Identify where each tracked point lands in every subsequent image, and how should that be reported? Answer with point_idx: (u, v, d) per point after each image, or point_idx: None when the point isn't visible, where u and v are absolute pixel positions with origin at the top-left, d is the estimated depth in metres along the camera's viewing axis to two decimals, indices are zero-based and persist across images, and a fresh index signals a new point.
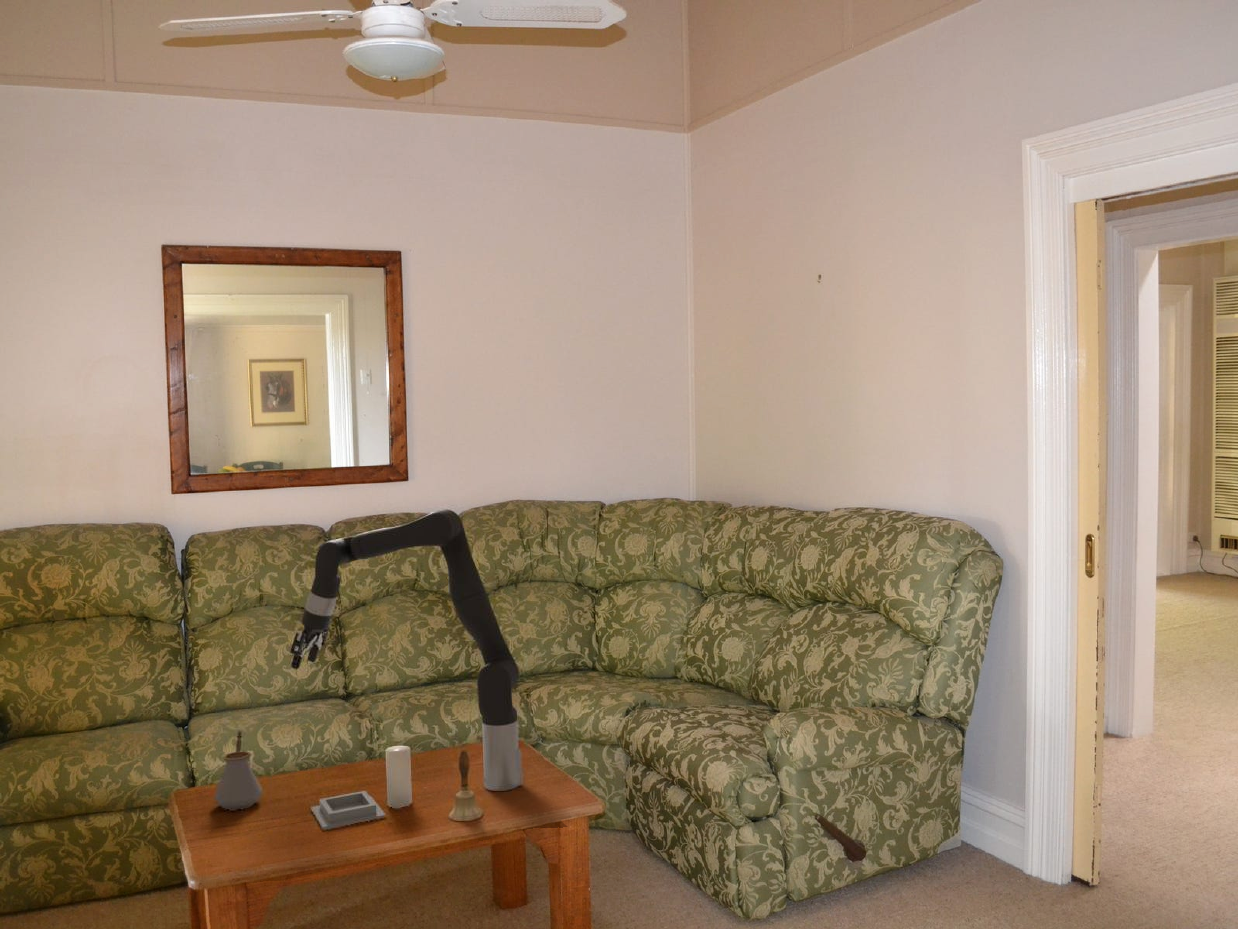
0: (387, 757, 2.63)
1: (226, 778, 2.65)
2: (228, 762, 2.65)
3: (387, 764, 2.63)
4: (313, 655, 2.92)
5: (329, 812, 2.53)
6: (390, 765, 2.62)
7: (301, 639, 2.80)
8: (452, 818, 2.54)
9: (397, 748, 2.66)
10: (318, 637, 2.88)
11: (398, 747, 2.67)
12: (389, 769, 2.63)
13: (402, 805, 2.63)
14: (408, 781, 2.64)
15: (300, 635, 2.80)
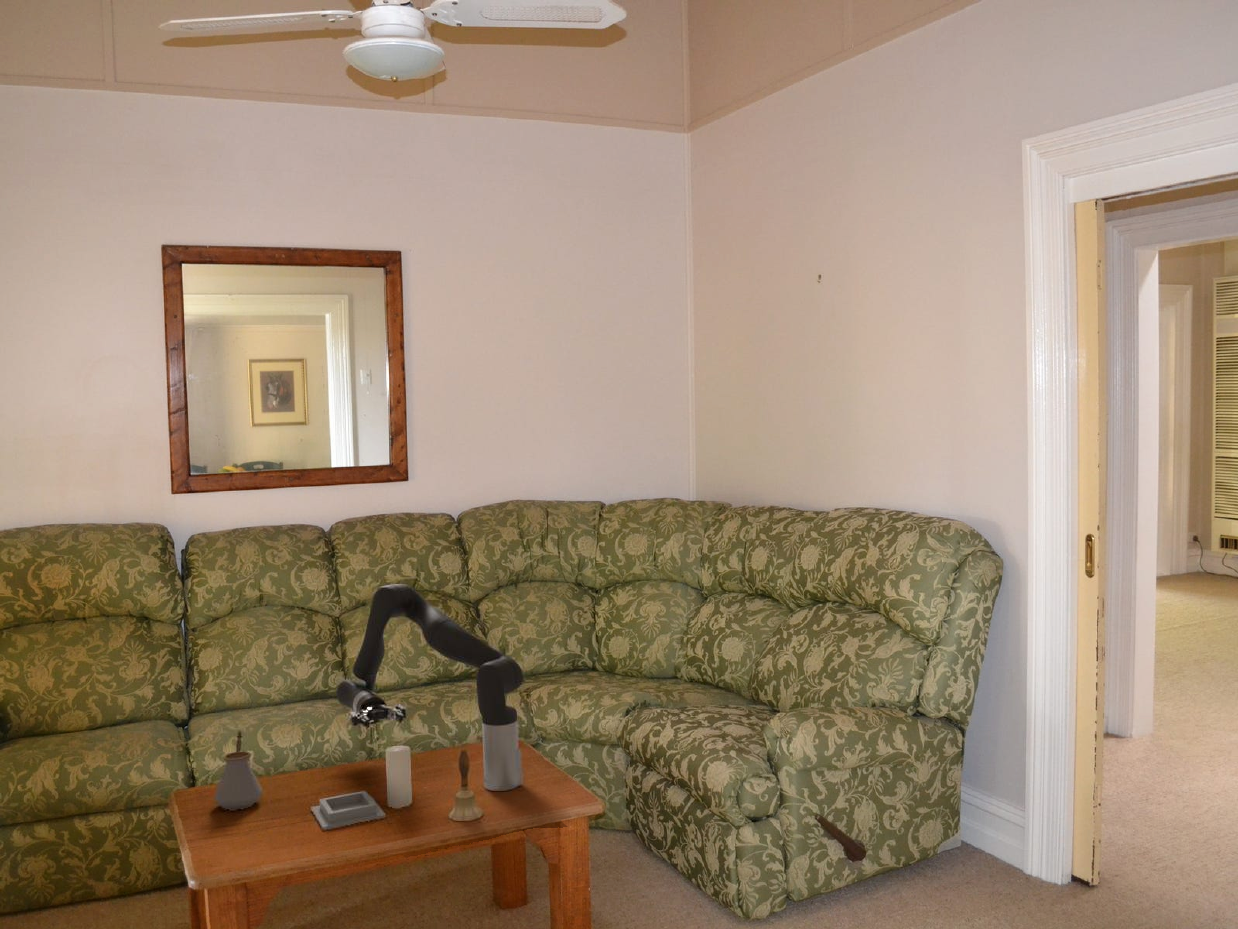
0: (387, 757, 2.63)
1: (226, 778, 2.65)
2: (228, 762, 2.65)
3: (387, 764, 2.63)
4: (397, 716, 2.79)
5: (329, 812, 2.53)
6: (390, 765, 2.62)
7: (350, 713, 2.81)
8: (452, 818, 2.54)
9: (397, 748, 2.66)
10: (380, 707, 2.83)
11: (398, 747, 2.67)
12: (389, 769, 2.63)
13: (402, 805, 2.63)
14: (408, 781, 2.64)
15: None
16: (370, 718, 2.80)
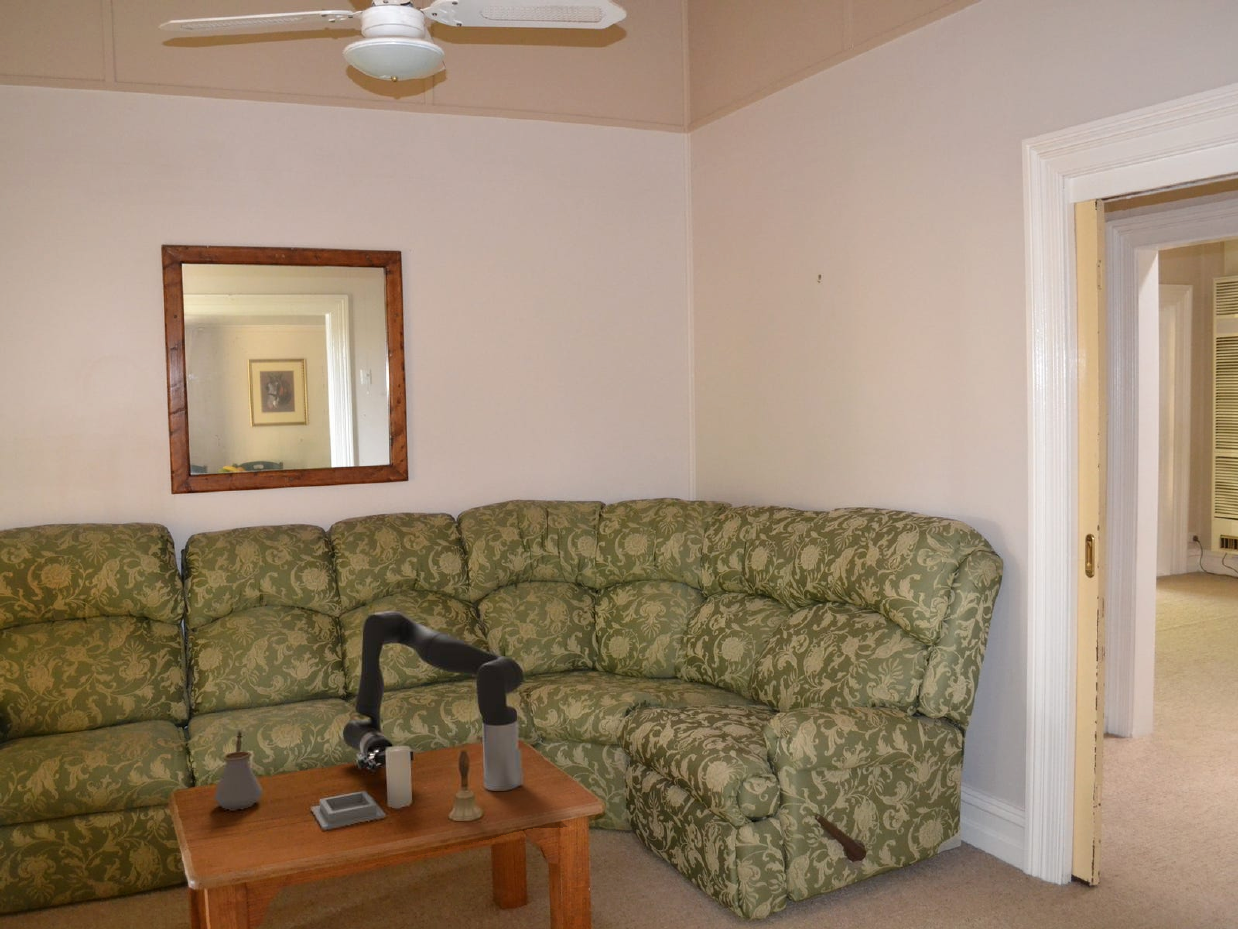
0: (387, 757, 2.63)
1: (226, 778, 2.65)
2: (228, 762, 2.65)
3: (387, 764, 2.63)
4: None
5: (329, 812, 2.53)
6: (390, 765, 2.62)
7: (356, 756, 2.76)
8: (452, 818, 2.54)
9: (397, 748, 2.66)
10: None
11: (398, 747, 2.67)
12: (389, 769, 2.63)
13: (402, 805, 2.63)
14: (408, 781, 2.64)
15: None
16: (377, 761, 2.76)
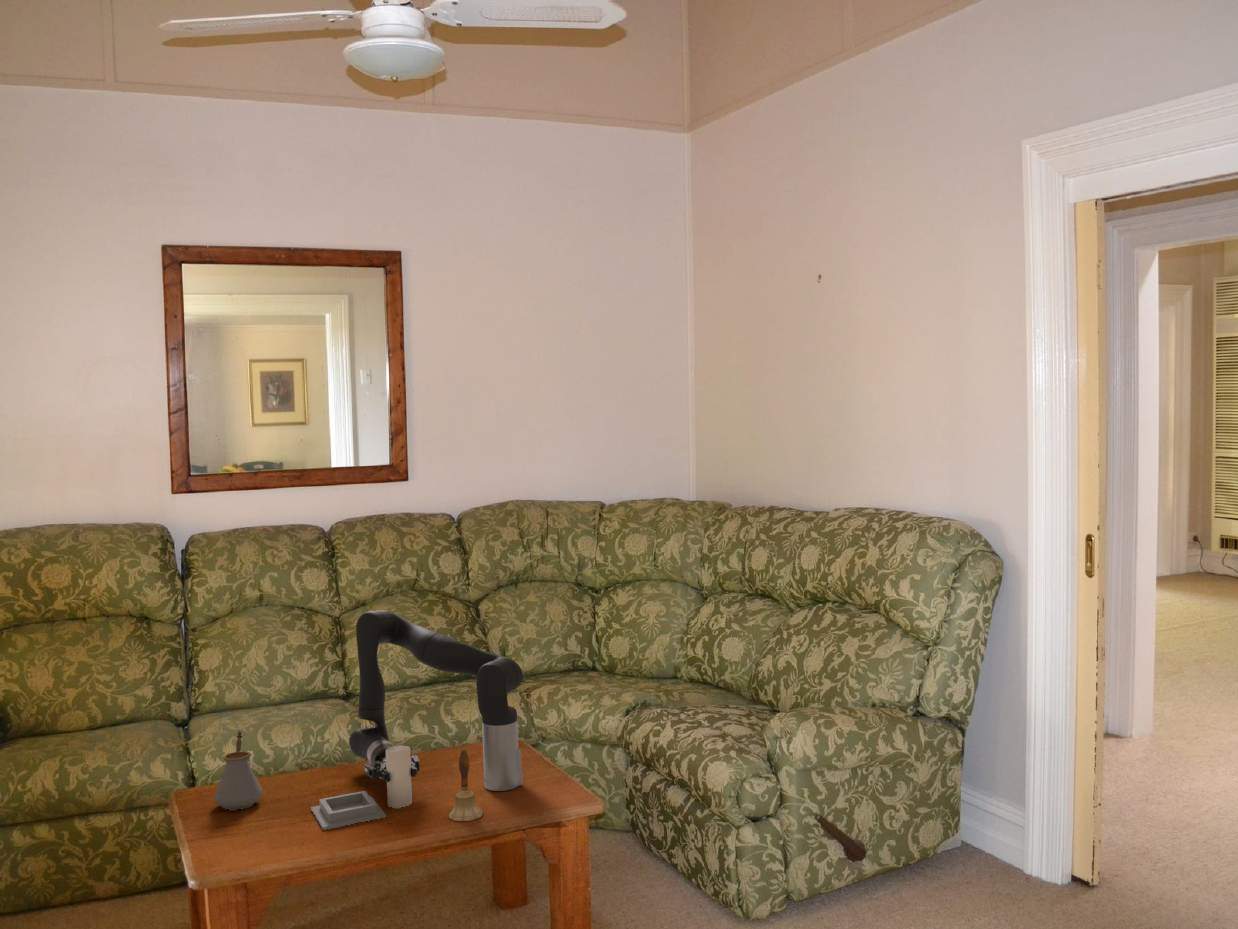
0: (387, 757, 2.63)
1: (226, 778, 2.65)
2: (228, 762, 2.65)
3: (387, 764, 2.63)
4: None
5: (329, 812, 2.53)
6: (390, 765, 2.62)
7: (365, 766, 2.68)
8: (452, 818, 2.54)
9: (397, 748, 2.66)
10: None
11: (398, 747, 2.67)
12: (389, 769, 2.63)
13: (402, 805, 2.63)
14: (408, 781, 2.64)
15: None
16: None
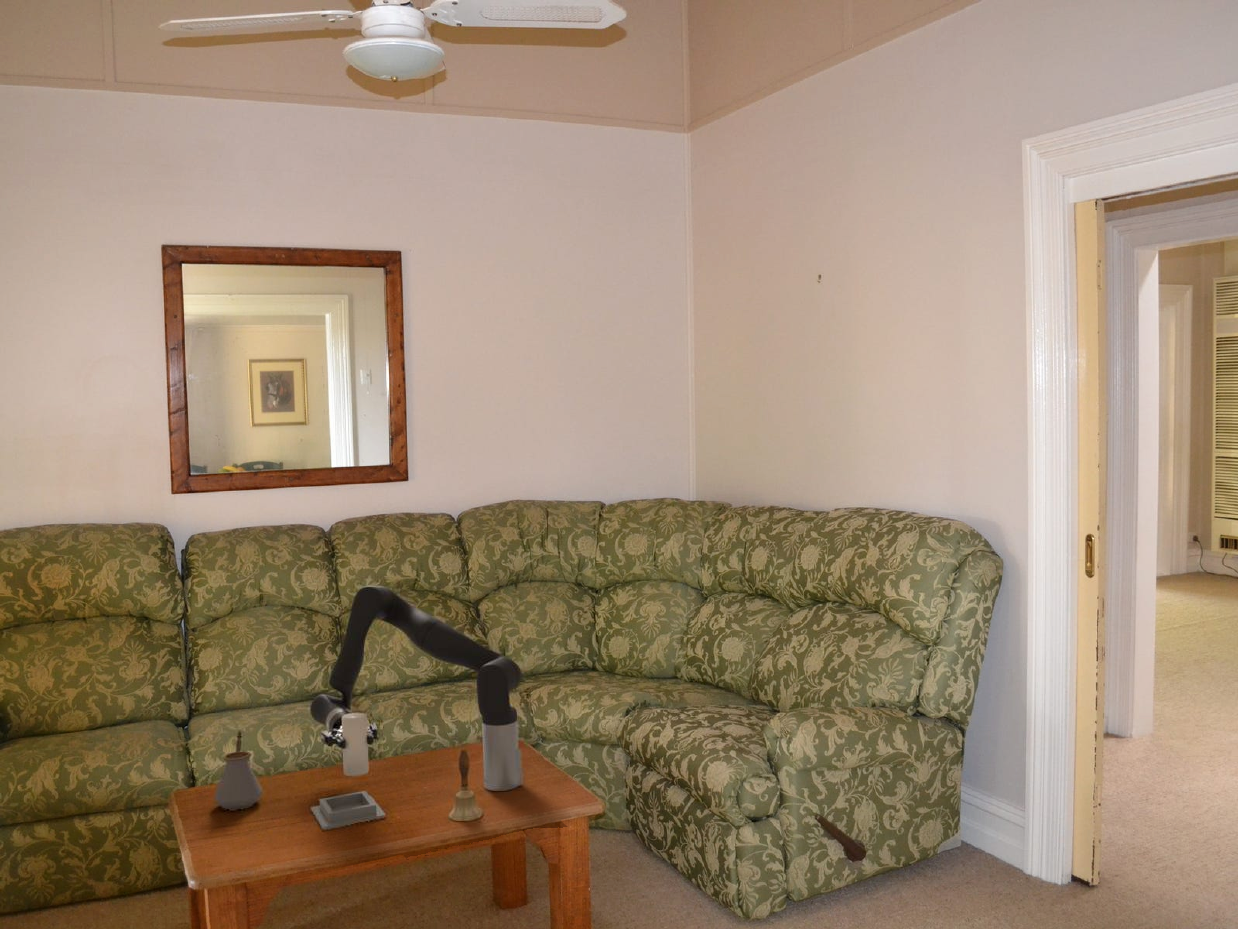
0: (343, 724, 2.58)
1: (226, 778, 2.65)
2: (228, 762, 2.65)
3: (343, 731, 2.59)
4: (367, 737, 2.61)
5: (329, 812, 2.53)
6: (346, 732, 2.58)
7: (322, 734, 2.63)
8: (452, 818, 2.54)
9: (353, 715, 2.61)
10: None
11: (355, 714, 2.62)
12: (345, 736, 2.58)
13: (358, 773, 2.58)
14: (365, 748, 2.59)
15: (321, 735, 2.64)
16: None
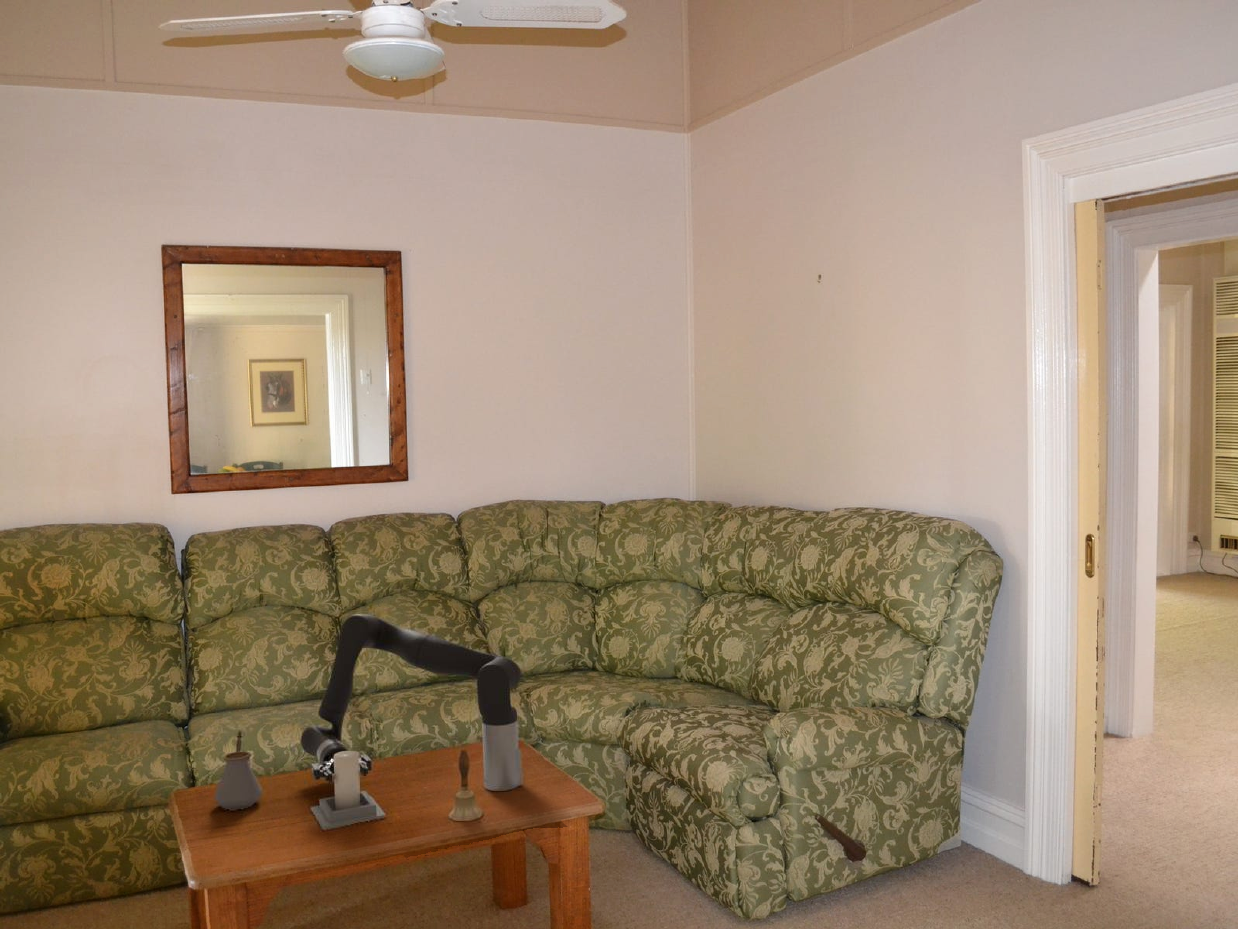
0: (335, 763, 2.57)
1: (226, 778, 2.65)
2: (228, 762, 2.65)
3: (335, 770, 2.57)
4: (361, 769, 2.61)
5: (329, 812, 2.53)
6: (338, 771, 2.56)
7: (312, 766, 2.62)
8: (452, 818, 2.54)
9: (345, 753, 2.60)
10: None
11: (347, 752, 2.61)
12: (337, 775, 2.57)
13: None
14: (357, 787, 2.58)
15: None
16: None
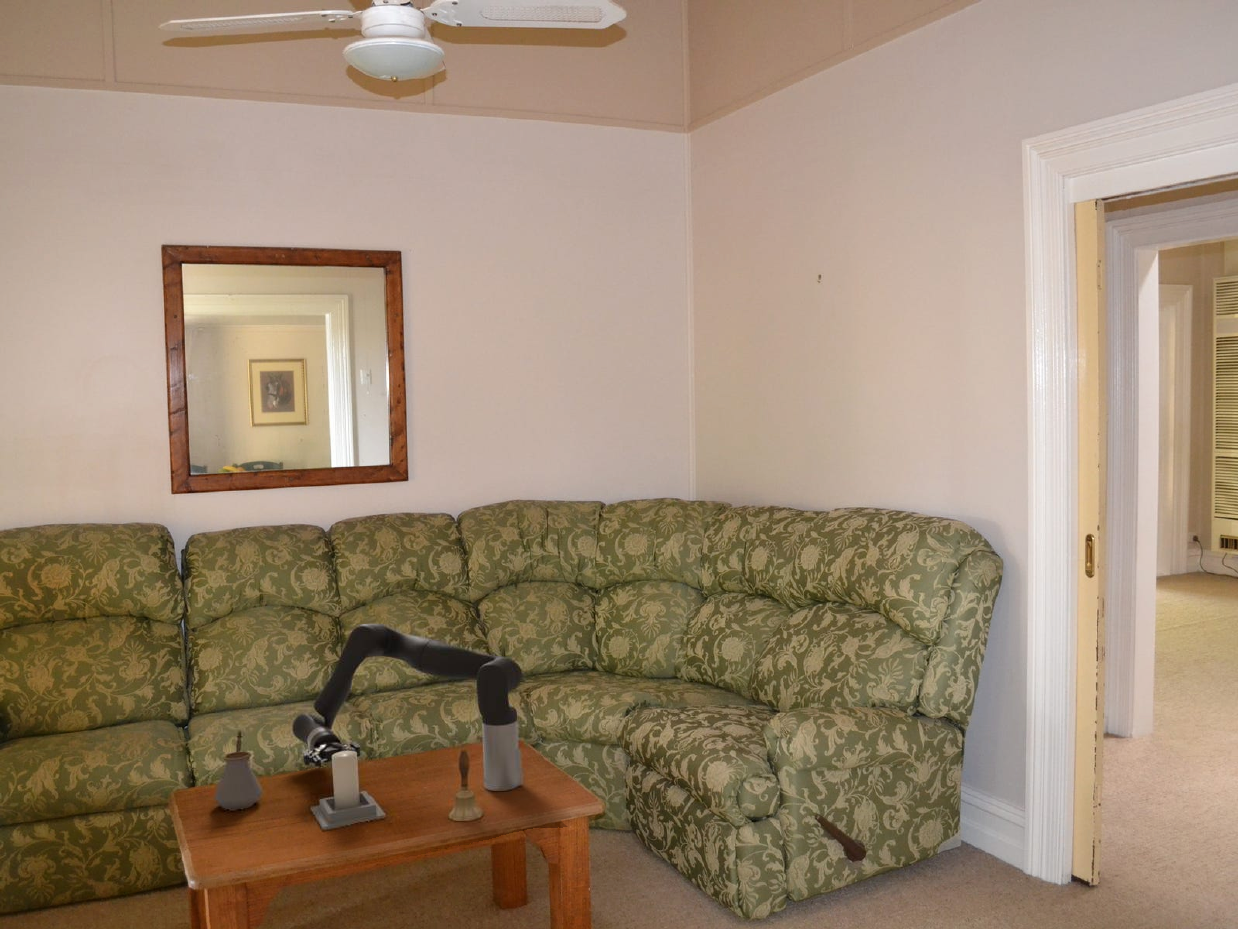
0: (333, 763, 2.57)
1: (226, 778, 2.65)
2: (228, 762, 2.65)
3: (333, 770, 2.57)
4: None
5: (329, 812, 2.53)
6: (336, 771, 2.57)
7: (302, 752, 2.74)
8: (452, 818, 2.54)
9: (343, 753, 2.60)
10: (333, 745, 2.76)
11: (345, 752, 2.61)
12: (336, 775, 2.57)
13: None
14: (356, 787, 2.58)
15: None
16: (323, 757, 2.73)
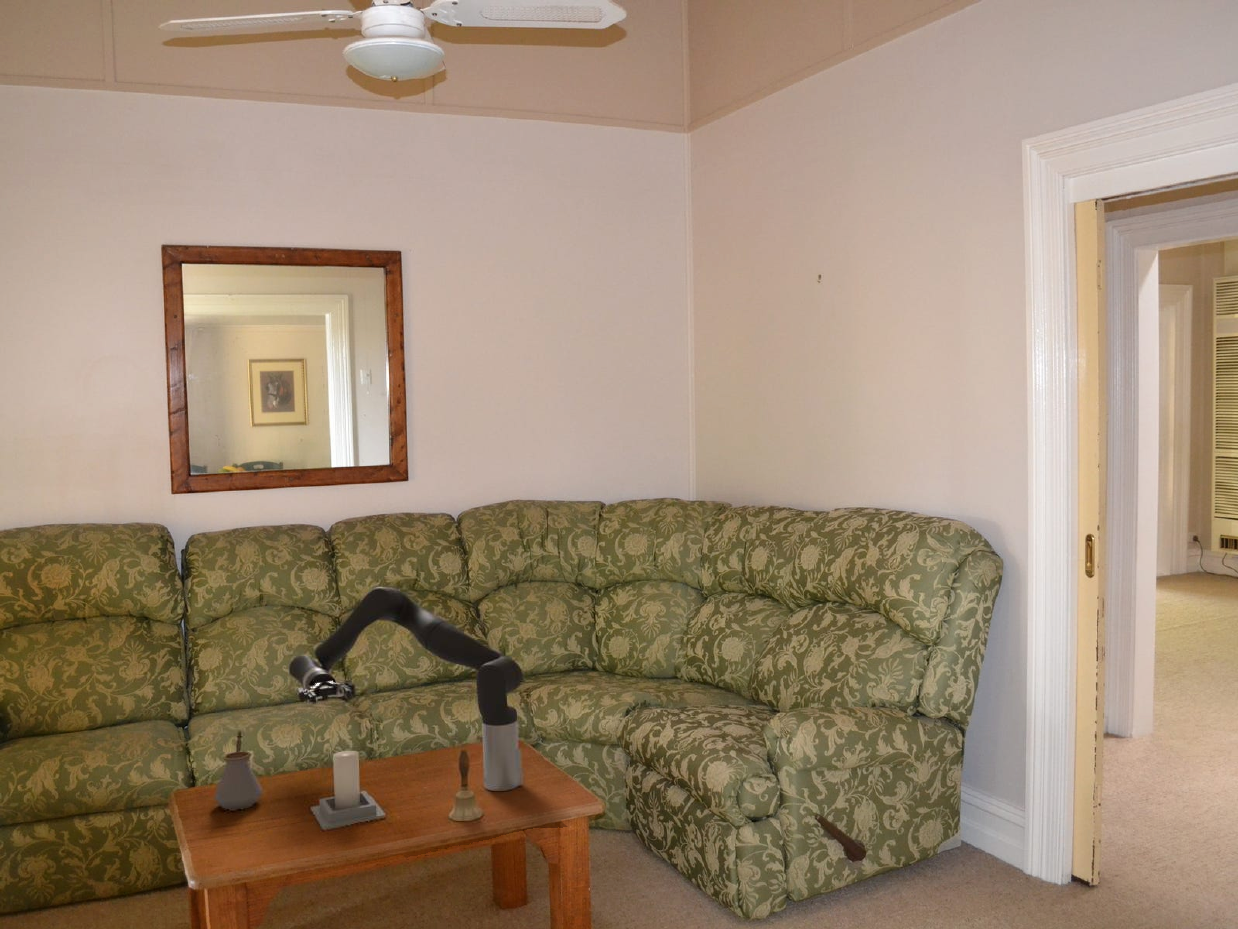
0: (334, 762, 2.58)
1: (226, 778, 2.65)
2: (228, 762, 2.65)
3: (334, 769, 2.58)
4: (345, 692, 2.75)
5: (329, 812, 2.53)
6: (337, 770, 2.57)
7: (297, 690, 2.76)
8: (452, 818, 2.54)
9: (345, 753, 2.60)
10: (328, 683, 2.79)
11: (347, 752, 2.61)
12: (336, 774, 2.57)
13: None
14: (356, 787, 2.58)
15: None
16: (318, 694, 2.76)
